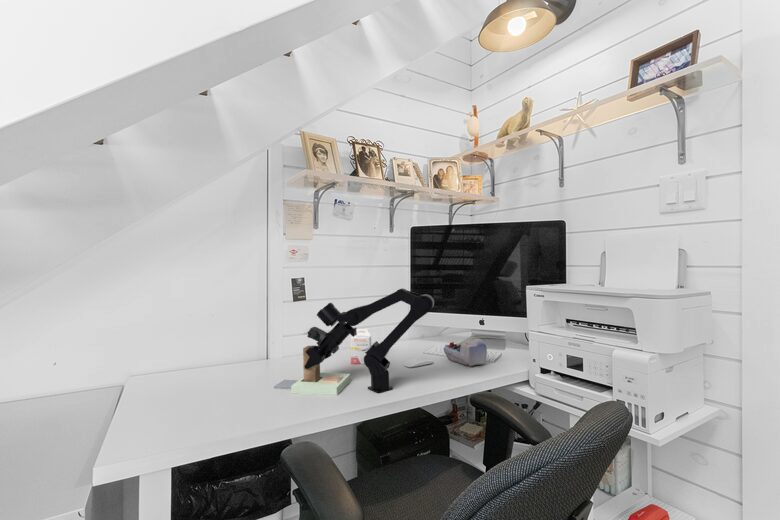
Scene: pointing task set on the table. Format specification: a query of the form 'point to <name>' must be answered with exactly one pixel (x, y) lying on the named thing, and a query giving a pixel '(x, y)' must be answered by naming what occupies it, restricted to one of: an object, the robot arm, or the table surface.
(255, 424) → the table surface
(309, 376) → the walnut block
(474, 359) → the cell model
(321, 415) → the table surface
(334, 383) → the puzzle board
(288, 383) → the grey mat
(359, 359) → the ink cartridge box
